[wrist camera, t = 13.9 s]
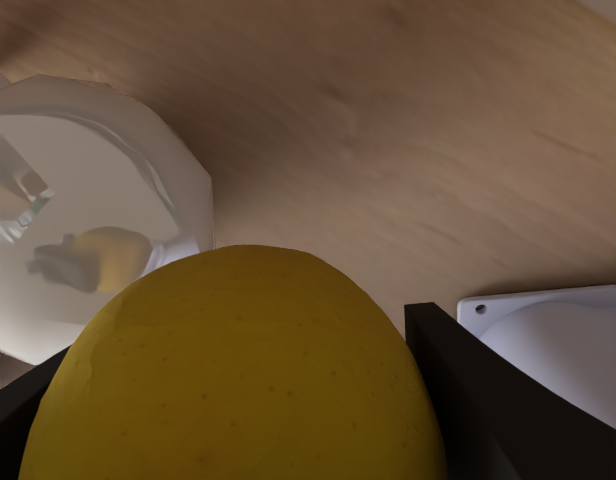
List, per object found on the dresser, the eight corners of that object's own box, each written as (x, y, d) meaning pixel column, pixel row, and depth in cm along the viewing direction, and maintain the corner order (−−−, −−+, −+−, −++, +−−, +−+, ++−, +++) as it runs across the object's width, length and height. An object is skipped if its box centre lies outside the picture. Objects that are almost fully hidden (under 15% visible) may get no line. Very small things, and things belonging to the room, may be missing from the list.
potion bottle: (227, 268, 22) (-13, 73, 21) (308, 162, 14) (-73, -163, 13) (84, 434, 16) (-254, 181, 15) (83, 414, 8) (-622, -117, 7)
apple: (362, 416, 13) (431, 919, 5) (146, 382, 12) (-114, 870, 5) (424, 215, 10) (721, 620, 3) (157, 167, 10) (-337, 480, 2)
